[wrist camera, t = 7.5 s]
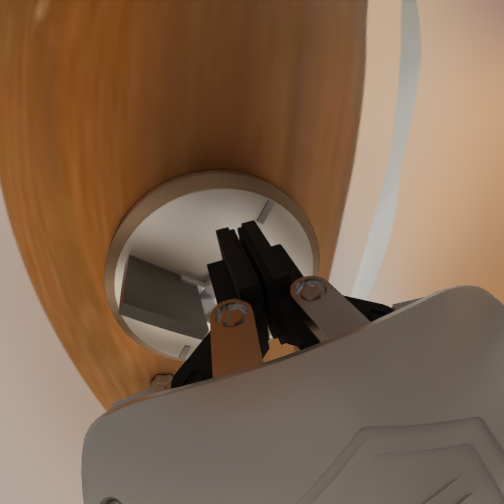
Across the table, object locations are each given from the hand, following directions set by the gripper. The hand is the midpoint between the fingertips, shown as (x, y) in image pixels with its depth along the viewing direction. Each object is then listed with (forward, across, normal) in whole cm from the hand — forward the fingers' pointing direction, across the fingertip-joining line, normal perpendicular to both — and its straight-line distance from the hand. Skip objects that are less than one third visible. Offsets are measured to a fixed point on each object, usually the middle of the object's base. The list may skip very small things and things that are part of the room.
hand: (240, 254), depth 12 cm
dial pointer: (+6, +1, +7) cm, 9 cm away
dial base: (+9, +1, +7) cm, 11 cm away
